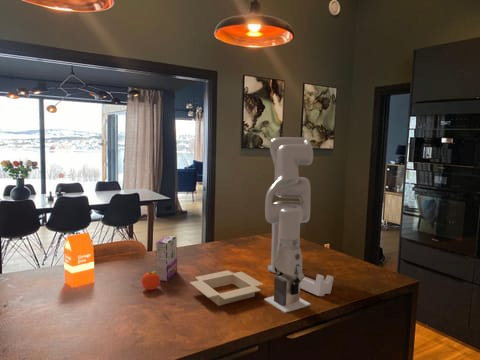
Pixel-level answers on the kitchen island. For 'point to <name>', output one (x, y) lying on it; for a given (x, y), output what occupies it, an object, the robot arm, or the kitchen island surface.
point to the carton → (225, 278)
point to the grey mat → (288, 307)
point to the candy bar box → (166, 257)
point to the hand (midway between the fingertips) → (287, 289)
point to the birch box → (284, 290)
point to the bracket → (317, 285)
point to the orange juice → (79, 260)
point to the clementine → (151, 280)
